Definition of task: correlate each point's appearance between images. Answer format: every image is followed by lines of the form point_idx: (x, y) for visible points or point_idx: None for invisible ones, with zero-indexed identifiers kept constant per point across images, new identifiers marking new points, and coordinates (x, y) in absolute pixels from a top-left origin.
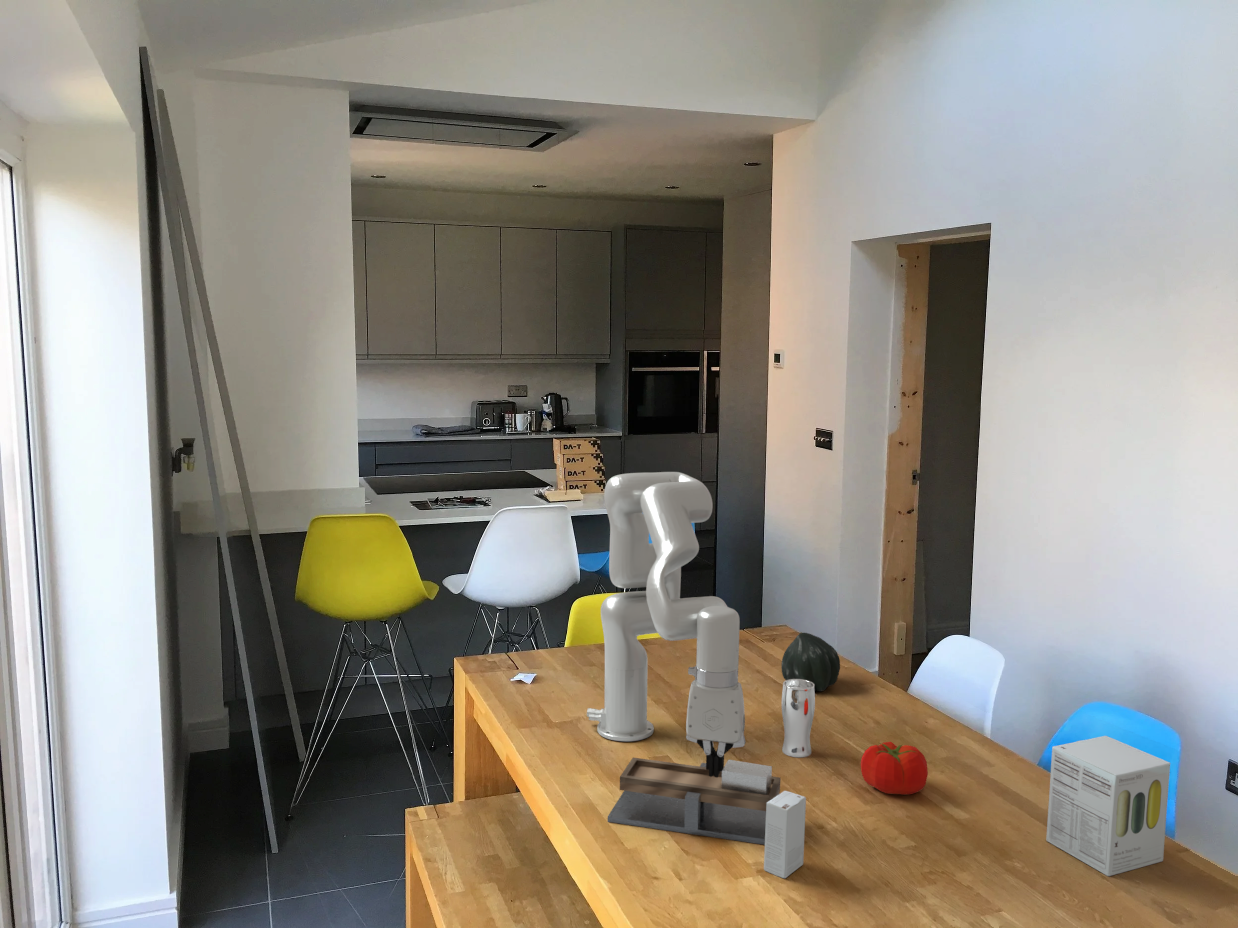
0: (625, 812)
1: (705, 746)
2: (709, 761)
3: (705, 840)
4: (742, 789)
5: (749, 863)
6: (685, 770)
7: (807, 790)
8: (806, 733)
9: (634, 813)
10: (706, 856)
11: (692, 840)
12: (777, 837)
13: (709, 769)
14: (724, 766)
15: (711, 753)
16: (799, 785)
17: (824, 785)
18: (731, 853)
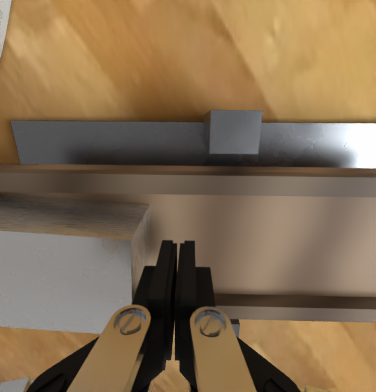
0: None
1: (228, 353)
2: (194, 277)
3: (182, 100)
4: (72, 205)
5: (57, 12)
6: (278, 298)
7: (47, 343)
8: None
9: (364, 158)
10: (164, 15)
11: (211, 91)
12: None
13: (193, 253)
14: (130, 277)
15: (188, 321)
16: (65, 355)
17: (27, 363)
18: (111, 53)
